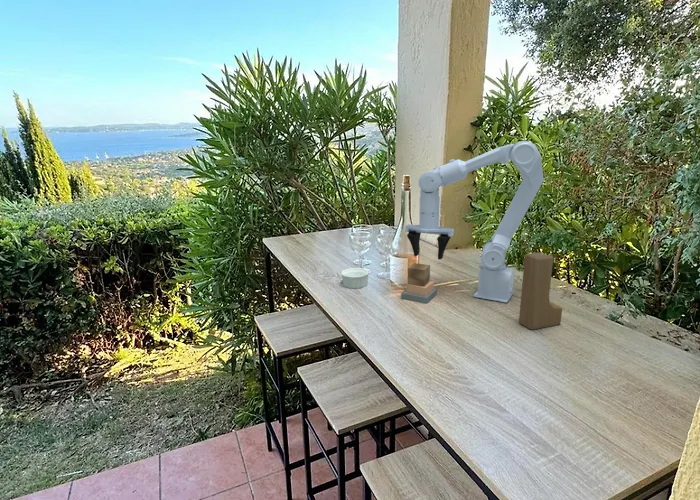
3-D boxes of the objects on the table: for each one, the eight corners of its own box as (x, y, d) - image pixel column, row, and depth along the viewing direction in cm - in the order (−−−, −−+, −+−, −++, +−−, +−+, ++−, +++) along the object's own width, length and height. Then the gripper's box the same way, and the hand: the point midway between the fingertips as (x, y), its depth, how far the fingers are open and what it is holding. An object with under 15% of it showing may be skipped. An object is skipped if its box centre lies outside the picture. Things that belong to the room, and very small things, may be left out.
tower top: (434, 289, 117) (434, 281, 117) (425, 296, 113) (425, 288, 112) (415, 286, 121) (416, 278, 120) (406, 292, 116) (406, 284, 115)
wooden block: (547, 317, 102) (554, 249, 97) (561, 324, 97) (569, 254, 93) (517, 322, 99) (524, 253, 94) (530, 330, 95) (538, 258, 90)
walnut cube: (429, 281, 117) (430, 265, 116) (424, 286, 113) (424, 269, 112) (413, 279, 120) (413, 263, 118) (407, 284, 115) (407, 267, 114)
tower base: (437, 296, 119) (437, 288, 118) (426, 306, 112) (427, 298, 111) (412, 292, 123) (412, 284, 122) (401, 300, 116) (401, 292, 116)
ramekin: (358, 291, 123) (357, 278, 122) (336, 286, 128) (335, 273, 127) (374, 283, 130) (374, 270, 128) (352, 278, 135) (352, 266, 134)
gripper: (401, 213, 117) (400, 257, 121) (448, 216, 109) (446, 263, 113) (410, 209, 123) (410, 251, 126) (457, 212, 115) (455, 257, 119)
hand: (428, 256), depth 120 cm, fingers open, 7 cm apart
